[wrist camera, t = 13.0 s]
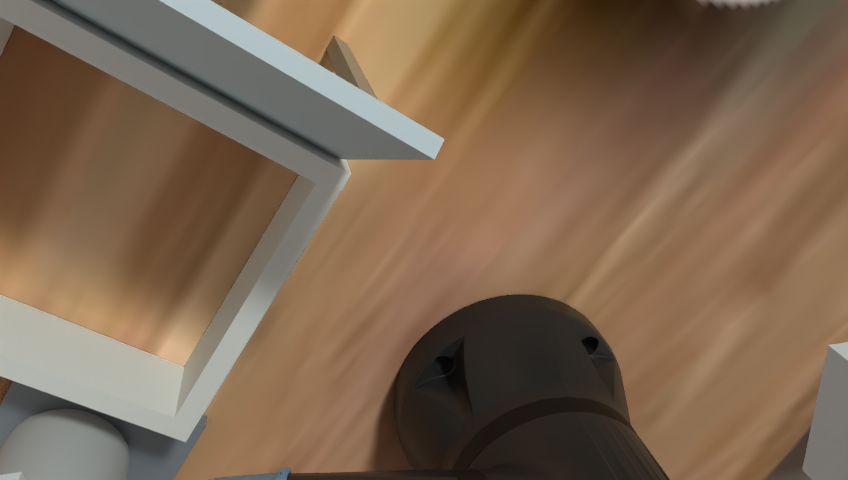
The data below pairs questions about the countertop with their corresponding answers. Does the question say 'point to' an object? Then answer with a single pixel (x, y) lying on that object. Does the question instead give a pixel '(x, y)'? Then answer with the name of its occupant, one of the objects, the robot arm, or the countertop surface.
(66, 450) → the cup
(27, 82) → the countertop surface
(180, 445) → the slate tile
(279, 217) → the cold frame
